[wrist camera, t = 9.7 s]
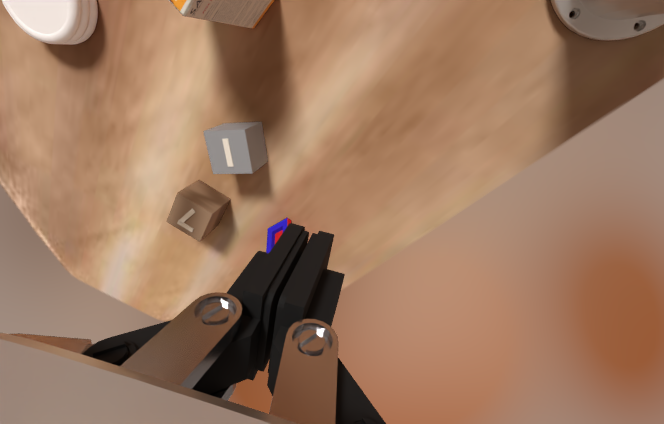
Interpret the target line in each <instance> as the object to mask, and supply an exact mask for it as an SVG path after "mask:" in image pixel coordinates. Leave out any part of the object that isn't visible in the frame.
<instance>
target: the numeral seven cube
mask: <svg viewBox="0 0 664 424" xmlns="http://www.w3.org/2000/svg"><path fill="white" fill-rule="evenodd" d="M229 201H230V198H228V197H226V196H225V195H223V194H222V193H220V192H218V191H217V190H215V189H213V188H212V187H210V186H209V185H207V184H205V183H204V182H202V181H200V180H198V181H196V182H194V183H193V184H191V185H189V186H188V187H186V188H184V189H183V190H181V191H180V192H178V193H177V195H176V198H175V201H174V203H173V206H172V209H171V211H170V214H169V217H168V219H167V222H168V223H169V224H171V225H173V226H174V227H176V228H178V229H179V230H181V231H183V232H184V233H186V234H188V235H189V236H191V237H193V238H194V239H196V240H198V241H199V242H200V241H201V240H202V239H203V238H204V237H205V236H207V235H208V234H209V233H210V232H211V231H212V230H213V229H214V228H215V227H216V226H218V224H219V222H220V220H221V218H222V216H223V214H224V212H225V209H226V207H227V205H228V203H229Z"/></svg>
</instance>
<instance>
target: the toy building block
mask: <svg viewBox="0 0 664 424" xmlns="http://www.w3.org/2000/svg"><path fill="white" fill-rule="evenodd" d="M290 223H291V220H290V219H288V218H286V219H284V220H282V221H280V222H279V223H277V224H275V225H273V226H272V227H270V228H268V234H267V250H266V253H269V252H270V251H271V250H272V248H273V247H274V245H275V244H276V242H277V241H278V239H279V238H280V236H281V235H282V233H283V232H284V231H285V229H286V228H287V226H288V225H289V224H290Z"/></svg>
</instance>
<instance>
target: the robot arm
mask: <svg viewBox="0 0 664 424" xmlns="http://www.w3.org/2000/svg"><path fill="white" fill-rule="evenodd" d="M551 3H552V6H553V9H554V11H555V12H556V14H557V16H558V17H559V19H560V21H562V22H563V23H564V24H565V25H566V26H567V27H568V28H569V29H570V30H572V31H573V32H575V33H577V34H578V35H580V36H583V37H587V38H590V39H594V40H606V41H608V40H621V39H626V38H631V37H636V36H639V35H641V34H644V33H647V32H650V31H652V30H654V29H656V28H658V27H660V26H662V25H663V24H664V0H551ZM570 12H573V16H572V17H571V18H570V17H569V13H570ZM635 24H636V25H637V26H636V28H635V29H634V25H635ZM304 230H305V227H303V226H299V225H296V224H292V223H290V224H289V225H288V226H287V228H286V229H285V231H284V232H283V233H282V235H281V236H280V238H279V239H278V241H277V242H276V244H275V245H274V247H273V248H272V250H271V251H270V252H269V253H266V252H262V251H258V252H257V253H256V254H255V256H254V257H253V258H252V260H251V261H250V262H249V264H248V265H247V266H246V268H245V269H244V270H243V272H242V273H241V274H240V276H239V277H238V278H237V280H236V281H235V282H234V284H233V285H232V286H231V288H230V289H229V290H228V292H227V293H210V294H206V295H203V296H201V297H199V298H198V299H196V300H195V301H194V302H192V303H191V304H190V305H189V306H188V307H187V308H186V309H184V310H183V311H182V312H181V313H180V314H179V315H178V316H177V317H175V318H174V319H173V320H171V321H167V322H164V323H160V324H157V325H154V326H150V327H146V328H142V329H139V330H135V331H132V332H128V333H124V334H121V335H117V336H114V337H110V338H107V339H104V340H102V341H99V342H97V343H96V344H92V343H91V340H90V339H78V338H67V337H55V336H43V335H32V334H20V333H18V334H5V333H0V424H386V423H385V422H384V420H383V419H382V418H381V416H380V415H379V413H378V412H377V411H376V409H375V408H374V407H373V405H372V404H371V403H370V401H369V400H368V398H367V397H366V395H365V394H364V393H363V391H362V390H361V389H360V387H359V386H358V385H357V383H356V382H355V380H354V379H353V378H352V376H351V375H350V373H349V372H348V370H347V369H346V368H345V366H344V365H343V364H342V362H341V361H340V359H339V358H338V337H337V335H336V333H335V331H334V330H333V329H332V328H331V325H332V321H333V317H334V314H335V310H336V307H337V303H338V299H339V295H340V291H341V287H342V283H343V279H344V275H345V274H342V273H339V272H335V271H331V270H328V269H327V266H328V261H329V256H330V252H331V247H332V243H333V238H334V234H330V233H326V232H322V231H319V233H318V234H315V233H313V234H312V236H311V238H310V240H309V241H308V237H309V232H307V231H304ZM307 242H308V243H307ZM269 359H270V361H269ZM268 361H269V369H268V373H269V377H268V384H267V385H268V388H269V389H270V392H271V394H272V396H273V398H272V403H271V407H270V412H269V414H267V413H264V412H261V411H258V410H255V409H252V408H248V407H245V406H242V405H239V404H236V403H233V402H230V401H228V399H229V398H230V396H231V395H232V394H233V392H234V390H235V388H236V383H238V382H241V381H243V380H245V379H250V380H253V379H254V378H255V375H256V373H257V371H258V370H260V371H264V369H265V367H266V365H267V363H268Z"/></svg>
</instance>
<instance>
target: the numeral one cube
mask: <svg viewBox="0 0 664 424" xmlns="http://www.w3.org/2000/svg"><path fill="white" fill-rule="evenodd" d="M203 132H204V136H205V140H206V145H207V149H208V153H209V157H210V162H211V166H212V170H213V174H250V173H254V172H255V171H256V170H258V169H259V168H260V167H262V166H263V165H264V164H265V163H267V162H268V157H267V151H266V145H265V139H264V132H263V126H262V122H243V123H224V124H221V125H219V126H216V127H214V128H211V129H208V130H206V131H203Z"/></svg>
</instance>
